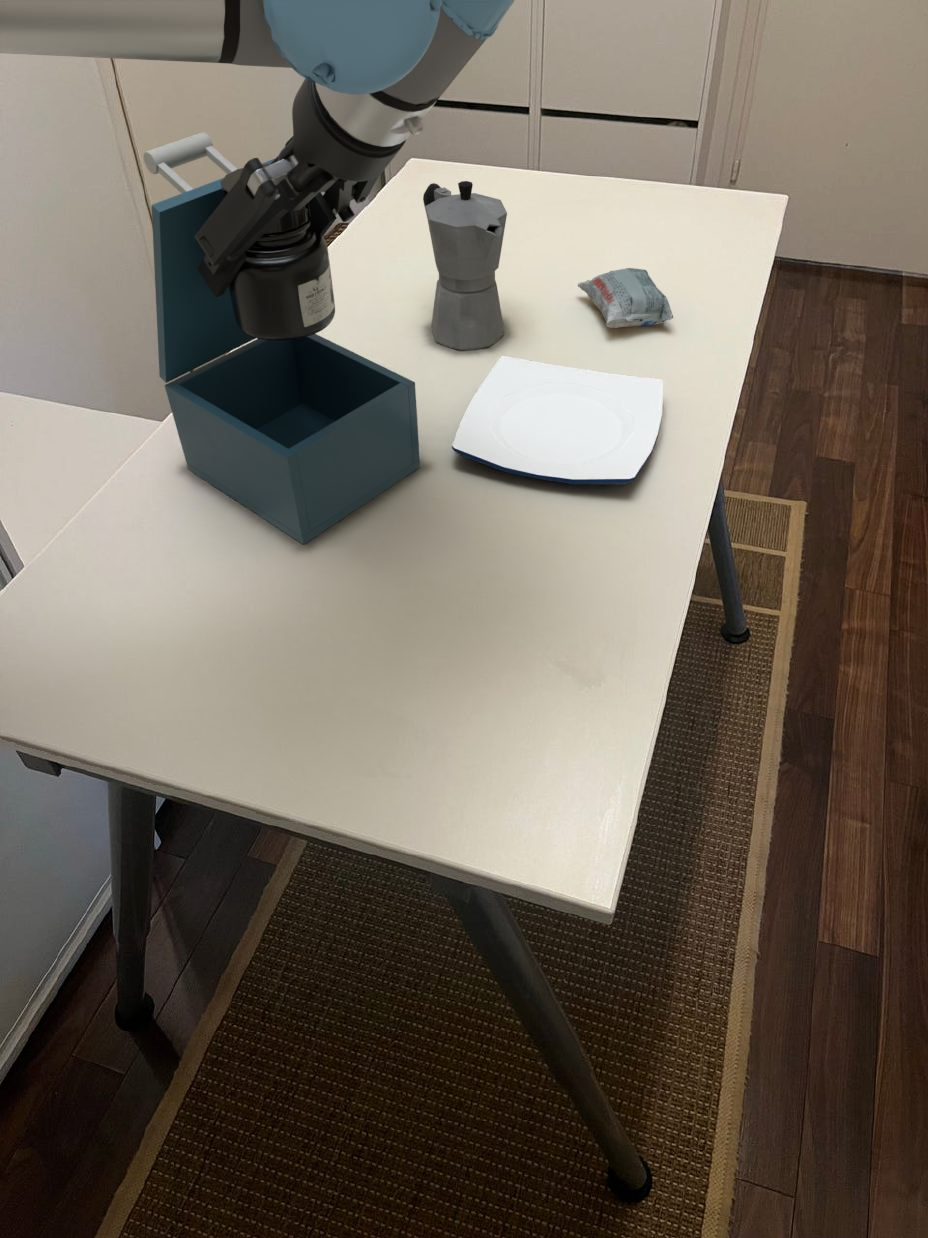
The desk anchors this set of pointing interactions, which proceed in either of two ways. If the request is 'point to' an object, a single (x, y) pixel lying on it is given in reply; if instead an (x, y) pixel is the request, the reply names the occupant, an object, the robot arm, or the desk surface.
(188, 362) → the lid
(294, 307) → the ink bottle
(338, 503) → the chest
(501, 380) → the plate
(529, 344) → the desk surface
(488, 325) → the coffeepot
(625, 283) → the packaged food
